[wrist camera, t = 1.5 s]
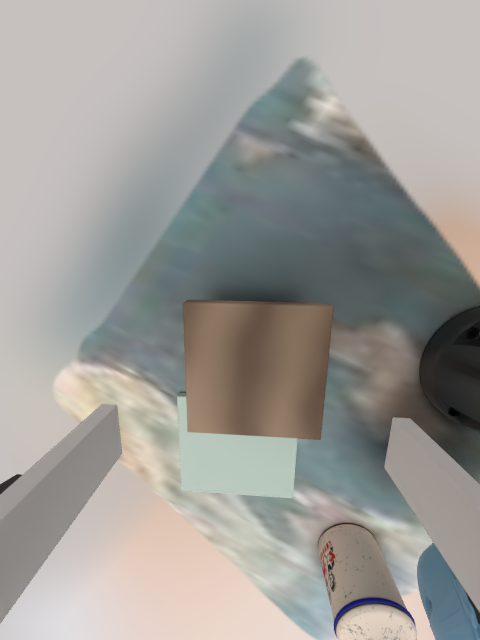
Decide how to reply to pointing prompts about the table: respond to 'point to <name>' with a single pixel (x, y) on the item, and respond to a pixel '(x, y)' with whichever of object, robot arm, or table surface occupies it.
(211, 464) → the sage mat
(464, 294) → the table surface
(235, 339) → the walnut lid
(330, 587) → the teacup with lid
